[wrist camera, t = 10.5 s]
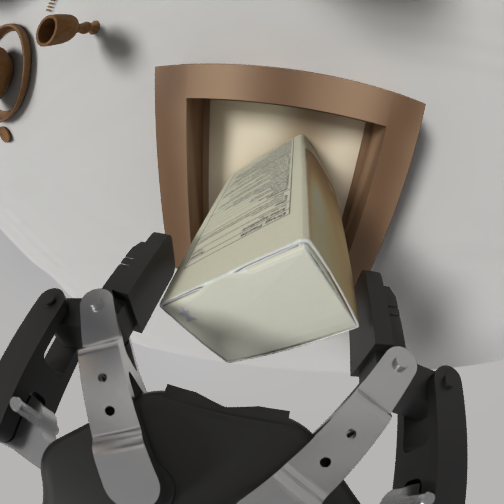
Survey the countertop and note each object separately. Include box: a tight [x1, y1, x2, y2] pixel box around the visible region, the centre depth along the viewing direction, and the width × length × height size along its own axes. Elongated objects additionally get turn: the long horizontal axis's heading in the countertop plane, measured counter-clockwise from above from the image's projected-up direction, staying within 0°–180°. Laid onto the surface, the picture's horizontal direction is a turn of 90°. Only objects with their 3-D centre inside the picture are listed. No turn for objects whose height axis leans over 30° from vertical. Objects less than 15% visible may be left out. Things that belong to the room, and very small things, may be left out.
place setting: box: [0, 0, 100, 142], centre depth 14 cm, size 18×20×6 cm
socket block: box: [155, 64, 426, 287], centre depth 18 cm, size 15×15×4 cm
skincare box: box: [160, 134, 359, 363], centre depth 14 cm, size 6×4×12 cm
